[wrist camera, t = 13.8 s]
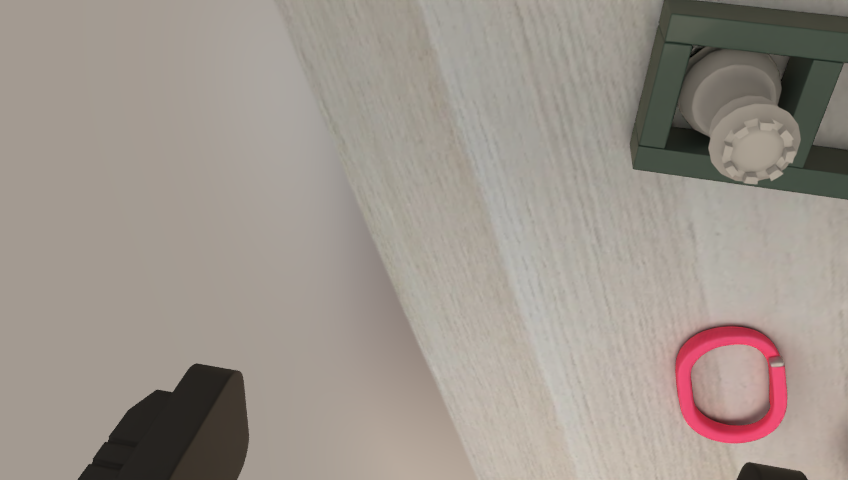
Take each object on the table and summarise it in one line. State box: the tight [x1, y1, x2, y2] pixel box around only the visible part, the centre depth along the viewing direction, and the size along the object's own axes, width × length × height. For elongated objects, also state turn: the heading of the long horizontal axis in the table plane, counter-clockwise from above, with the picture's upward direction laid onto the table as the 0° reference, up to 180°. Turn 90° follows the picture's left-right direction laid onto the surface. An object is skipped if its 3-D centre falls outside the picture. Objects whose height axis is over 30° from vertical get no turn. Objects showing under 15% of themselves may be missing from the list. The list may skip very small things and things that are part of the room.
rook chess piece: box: [678, 46, 801, 184], centre depth 30 cm, size 4×4×8 cm
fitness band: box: [676, 326, 787, 443], centre depth 41 cm, size 8×6×2 cm
